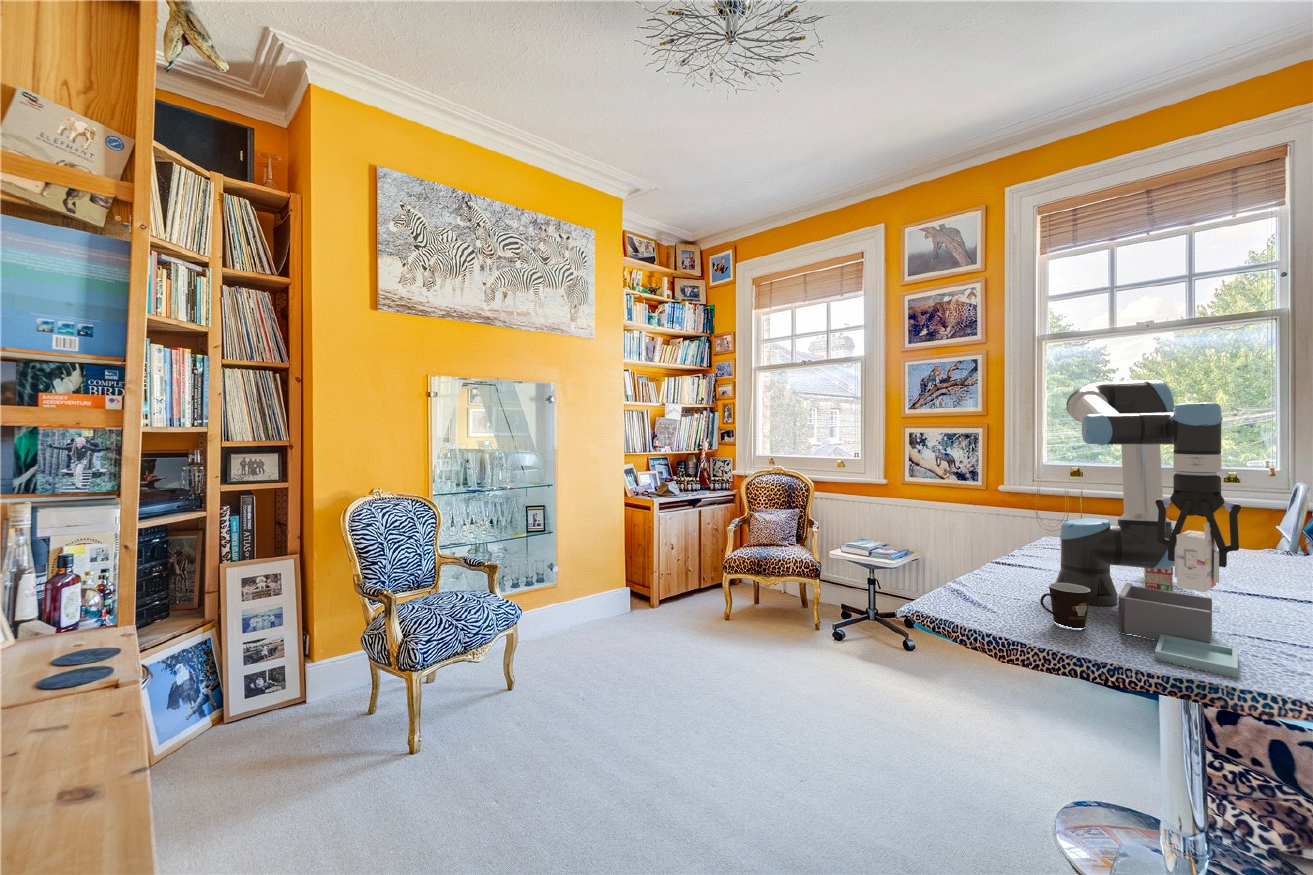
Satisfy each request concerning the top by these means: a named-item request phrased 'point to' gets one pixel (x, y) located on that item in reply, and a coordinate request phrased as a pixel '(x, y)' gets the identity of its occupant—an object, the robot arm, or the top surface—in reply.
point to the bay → (1164, 614)
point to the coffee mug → (1068, 604)
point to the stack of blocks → (1159, 579)
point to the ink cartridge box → (1196, 559)
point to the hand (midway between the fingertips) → (1196, 578)
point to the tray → (1198, 655)
